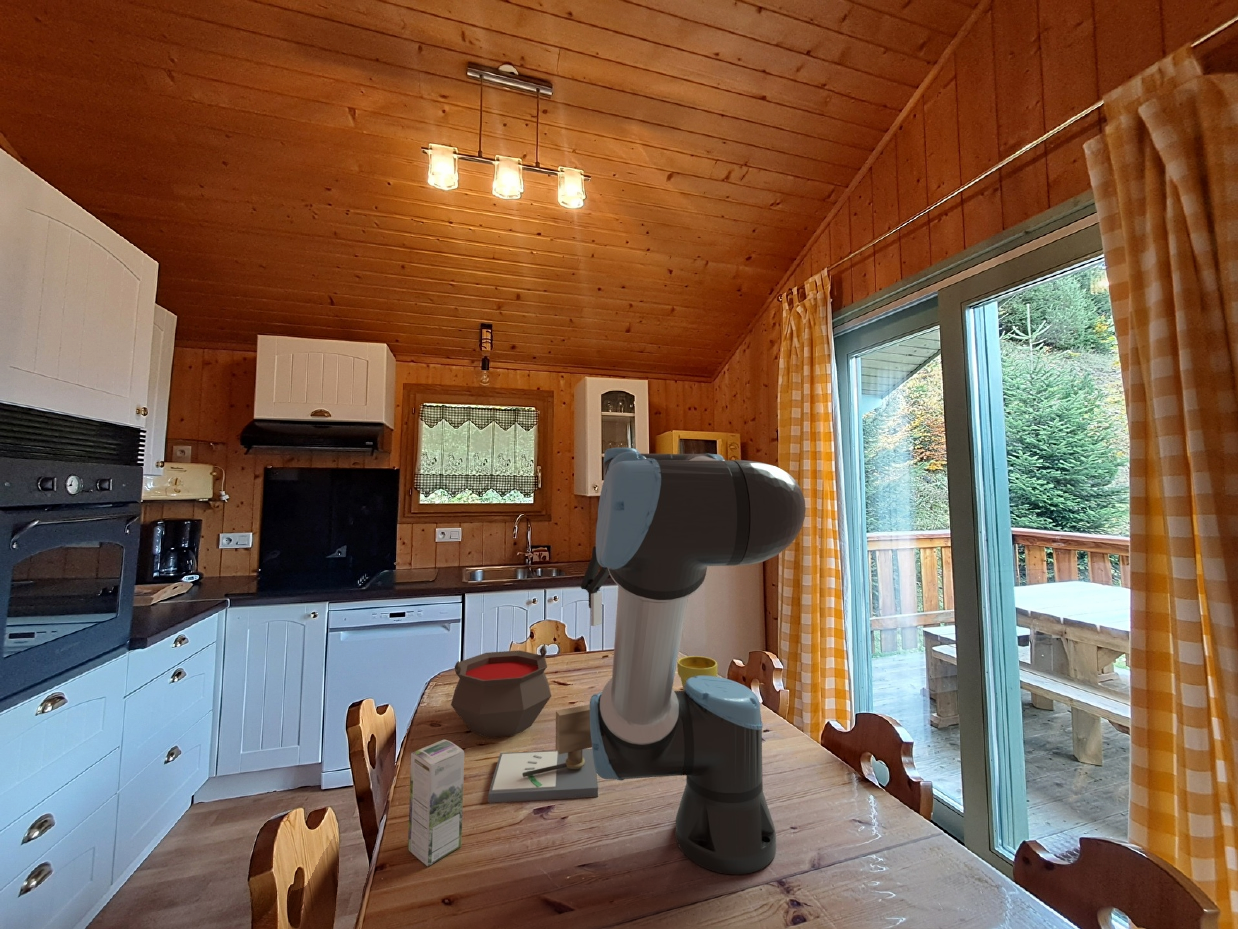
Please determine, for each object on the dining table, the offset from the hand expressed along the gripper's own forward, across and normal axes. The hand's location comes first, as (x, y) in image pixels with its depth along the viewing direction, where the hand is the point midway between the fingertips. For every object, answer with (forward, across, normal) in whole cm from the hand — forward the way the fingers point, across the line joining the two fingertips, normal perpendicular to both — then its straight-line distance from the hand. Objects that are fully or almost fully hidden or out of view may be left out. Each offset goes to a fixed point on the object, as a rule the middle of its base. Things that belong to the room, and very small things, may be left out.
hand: (622, 629), depth 101 cm
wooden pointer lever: (+24, +7, +12) cm, 27 cm away
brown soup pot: (+26, +34, +2) cm, 43 cm away
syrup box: (+27, +9, +36) cm, 46 cm away
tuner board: (+26, +9, +12) cm, 30 cm away
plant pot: (+26, +3, -37) cm, 45 cm away
